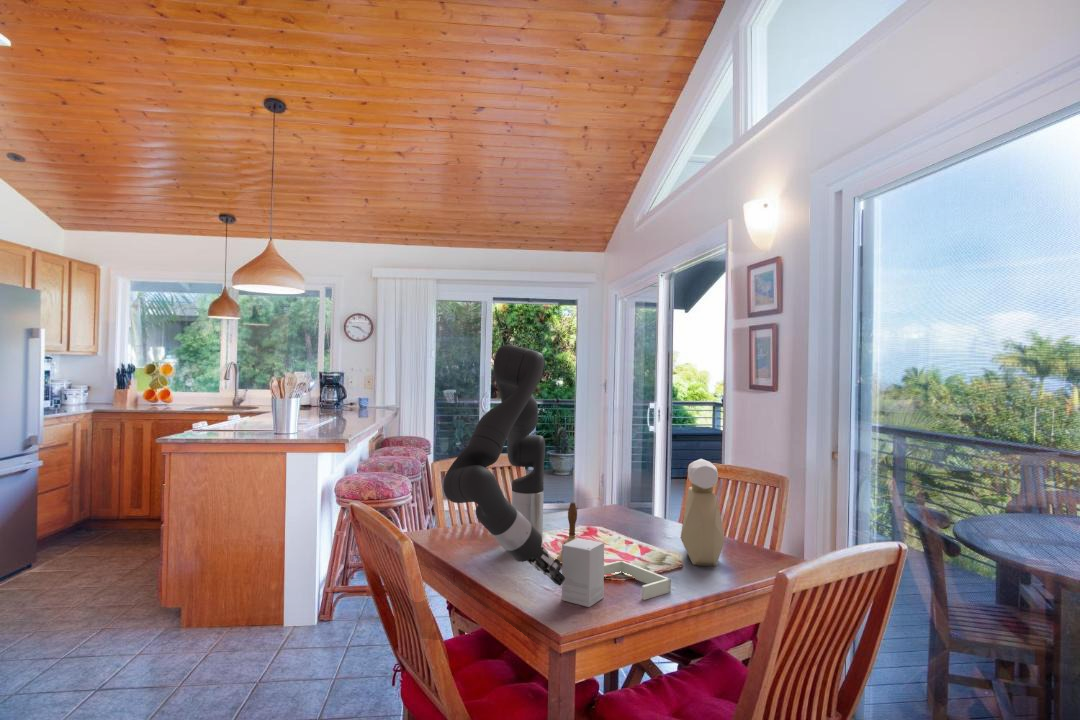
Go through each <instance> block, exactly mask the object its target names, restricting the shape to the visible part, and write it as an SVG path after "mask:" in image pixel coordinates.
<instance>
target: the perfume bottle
mask: <svg viewBox="0 0 1080 720" xmlns="http://www.w3.org/2000/svg"><path fill="white" fill-rule="evenodd" d="M687 475H688V481H689V482H690V483H691V486H689V487H688V489H687V493H686V501H685V508H684V513H683V521H682V525H681V532H680V541H681V542H682V544H683V547H684V549H685V551H686V553H687V555H688V557H689V559H690V561H691V563H692V565H693V566H697V567H699V566H703V567H715V566H717V564H718V561H719V559H720V556H721V553H722V551H723V547H724V544H725V542H726V538H725V533H724V528H723V522H722V516H721V510H720V505H719V500H718V496H717V495H716V494H715V493H714V492H713V487H714V486H715V485H716V484H717V483H718V480H719V474H718V468H717V467H716V466H715V465H714V464H713V463H712V462H711V461H709V460H706V459H703V458H699V459H697V460H693V461H692V462H691V463H689V464H688V467H687Z"/></svg>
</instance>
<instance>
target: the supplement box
mask: <svg viewBox="0 0 1080 720" xmlns="http://www.w3.org/2000/svg"><path fill="white" fill-rule="evenodd" d="M561 551H562V564H561V574H562V575H563V576H564V577H565V580H564V581H563V583H562V584H561V601H564V602H568V603H573V604H575V605H580V606H584V607H587V608H590V607H592V606H593V605H595V604H596V603H598V602H599V601H601V600H602V599H604V597H605V593H604V588H605V587H604V586H605V583H604V582H605V578H604V564H605V543H604V542H600V541H595V540H590V539H585V538H580V537H577V538H575V539H574V540H572V541H570V542H568V543H566V544H564V545H563V544H562V545H561Z"/></svg>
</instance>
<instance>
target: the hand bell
mask: <svg viewBox="0 0 1080 720" xmlns="http://www.w3.org/2000/svg"><path fill="white" fill-rule="evenodd" d="M577 520H578V509H577V506H576V502H573V501H572V502H570V503H569V507H568V510H567V521H568V525H569V527H568V528H569V529H568V538H566V539H564V541H563V544H562V545H564V544H566V543H568V542H570V541H572V540H574V539H576V523H577ZM556 558H557V559H558V560H559V561H560V562H562V550H561V552H560V554H559V555H558V556H557V557H556Z"/></svg>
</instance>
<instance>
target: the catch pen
mask: <svg viewBox="0 0 1080 720" xmlns="http://www.w3.org/2000/svg"><path fill="white" fill-rule="evenodd" d="M620 571H621V572H624V573H627V574H630V575H632V576H634V577H635V579H634V580H637V581H638V582H641V583H644V584H643V585H641V600H643V601H645V600H649V599H652V598H655V597H658V596H662V595H666V594H668V593H671V592H672V587H671V586H672V579H671V578H670V577H669V578H668V577H666V576H664V575H661V574H659V573H656V572H653V571H651V570H648V569H645V568H642V567H640V566H638V565H635V564H633V563H630V562H628V561H624V560H617V561H613V562H609V563H604V575H606V574H611V573H615V572H620Z"/></svg>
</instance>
